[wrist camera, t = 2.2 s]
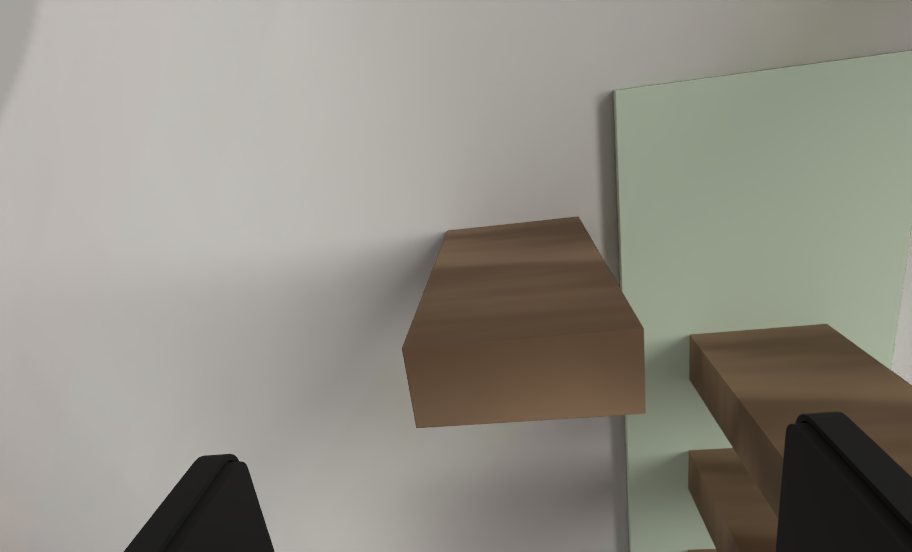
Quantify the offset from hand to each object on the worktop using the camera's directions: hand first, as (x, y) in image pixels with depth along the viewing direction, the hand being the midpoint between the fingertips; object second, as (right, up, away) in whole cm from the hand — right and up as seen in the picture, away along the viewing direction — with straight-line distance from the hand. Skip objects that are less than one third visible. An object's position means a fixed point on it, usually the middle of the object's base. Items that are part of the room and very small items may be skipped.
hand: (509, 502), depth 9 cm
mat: (+14, -6, +18) cm, 24 cm away
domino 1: (+2, +5, +16) cm, 17 cm away
